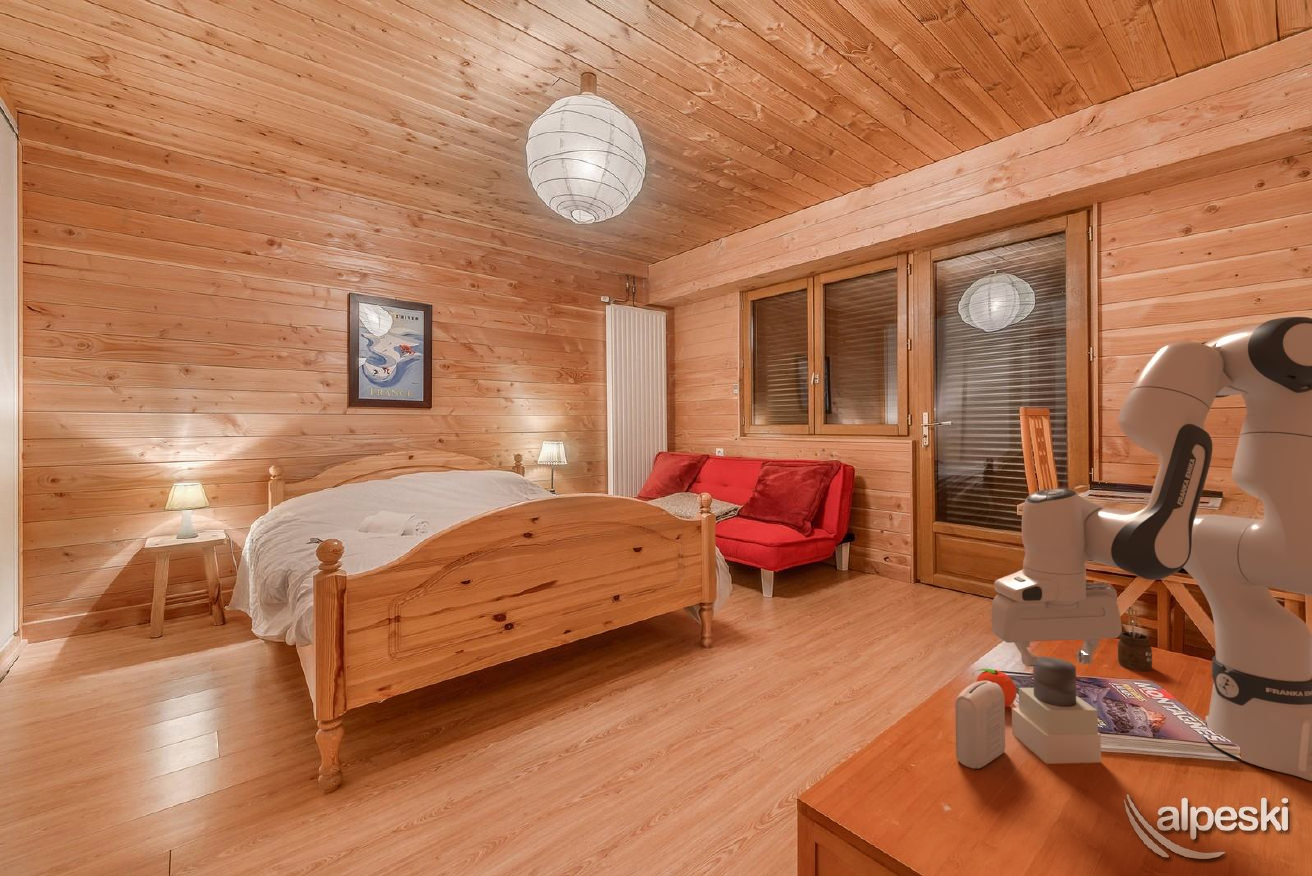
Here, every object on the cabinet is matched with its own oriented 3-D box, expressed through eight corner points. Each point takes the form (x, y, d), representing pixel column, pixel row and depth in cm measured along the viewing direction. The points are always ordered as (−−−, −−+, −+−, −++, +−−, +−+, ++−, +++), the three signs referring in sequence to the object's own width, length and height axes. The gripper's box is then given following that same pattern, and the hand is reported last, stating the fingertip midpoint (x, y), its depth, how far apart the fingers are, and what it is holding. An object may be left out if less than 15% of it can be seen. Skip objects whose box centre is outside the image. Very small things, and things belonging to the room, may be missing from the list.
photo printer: (983, 740, 100) (981, 671, 99) (1009, 751, 96) (1008, 680, 96) (952, 761, 94) (950, 688, 94) (978, 773, 90) (976, 698, 90)
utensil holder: (1119, 668, 126) (1118, 615, 126) (1116, 658, 131) (1115, 607, 131) (1154, 674, 123) (1153, 619, 122) (1149, 663, 128) (1149, 611, 128)
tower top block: (1065, 709, 100) (1064, 687, 100) (1097, 734, 92) (1097, 710, 92) (1019, 709, 101) (1018, 687, 101) (1047, 734, 93) (1047, 710, 93)
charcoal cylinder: (1059, 689, 99) (1058, 656, 99) (1085, 706, 93) (1084, 671, 93) (1025, 690, 99) (1025, 657, 99) (1049, 707, 93) (1048, 672, 93)
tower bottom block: (1062, 734, 101) (1061, 706, 101) (1101, 764, 92) (1100, 734, 92) (1012, 735, 101) (1011, 707, 101) (1046, 765, 92) (1045, 735, 92)
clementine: (964, 703, 113) (964, 668, 113) (978, 692, 117) (978, 658, 117) (1009, 718, 107) (1008, 681, 106) (1022, 706, 111) (1021, 670, 111)
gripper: (1101, 576, 99) (1103, 653, 99) (984, 581, 99) (987, 658, 100) (1130, 586, 93) (1133, 669, 93) (1006, 592, 93) (1009, 674, 93)
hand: (1056, 663), depth 96 cm, fingers open, 8 cm apart
